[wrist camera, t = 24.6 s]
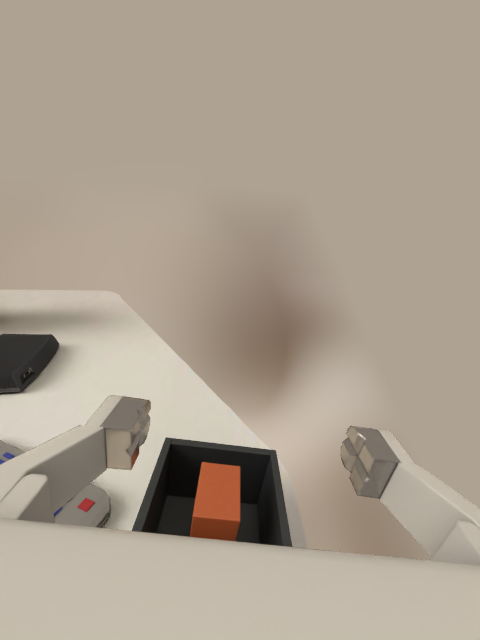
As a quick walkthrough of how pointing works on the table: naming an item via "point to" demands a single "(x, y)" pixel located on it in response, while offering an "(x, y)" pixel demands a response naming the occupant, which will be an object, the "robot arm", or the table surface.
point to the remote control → (73, 499)
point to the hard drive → (23, 359)
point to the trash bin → (182, 481)
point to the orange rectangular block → (217, 502)
